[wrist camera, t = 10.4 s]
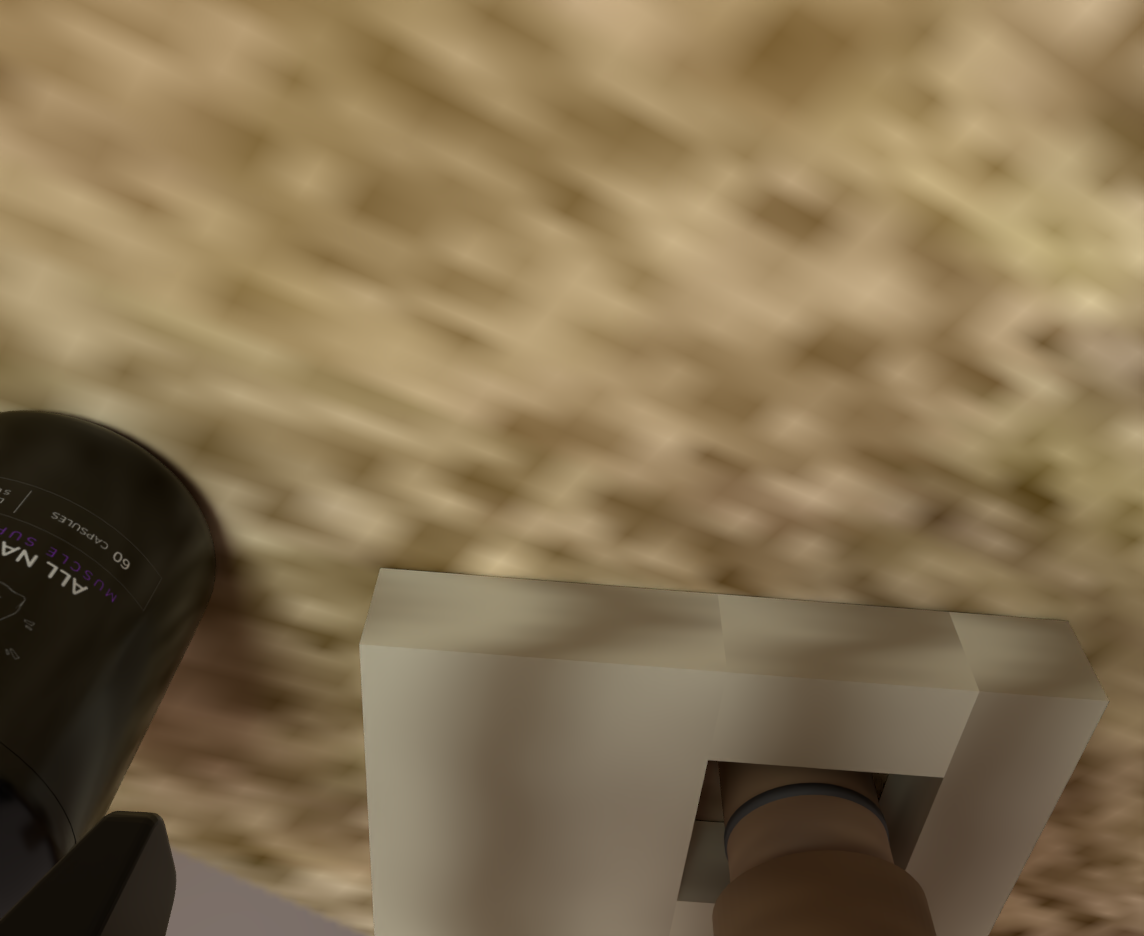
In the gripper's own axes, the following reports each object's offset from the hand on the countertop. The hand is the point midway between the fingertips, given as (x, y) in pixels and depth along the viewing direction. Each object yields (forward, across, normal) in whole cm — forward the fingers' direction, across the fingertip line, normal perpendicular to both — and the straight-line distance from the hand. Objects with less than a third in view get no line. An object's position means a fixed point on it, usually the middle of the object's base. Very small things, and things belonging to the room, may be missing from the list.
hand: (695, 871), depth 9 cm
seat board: (+13, -3, +14) cm, 19 cm away
